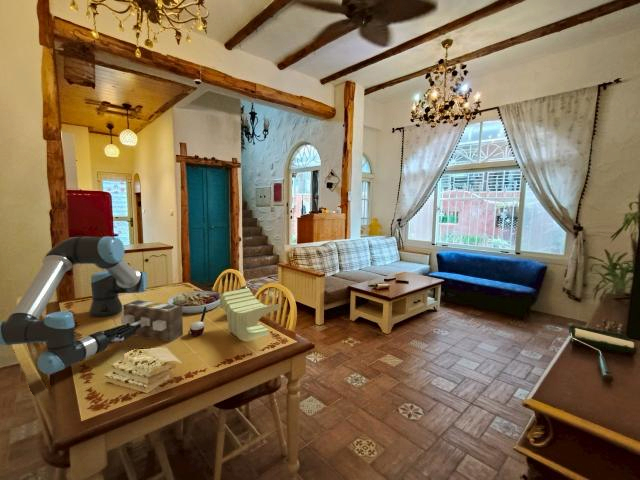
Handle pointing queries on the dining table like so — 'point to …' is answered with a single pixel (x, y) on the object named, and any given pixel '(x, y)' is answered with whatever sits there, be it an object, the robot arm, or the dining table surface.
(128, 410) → the dining table surface
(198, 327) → the cocoa
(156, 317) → the button panel
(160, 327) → the button
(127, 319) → the button
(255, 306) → the slatted curved stool
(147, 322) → the middle button
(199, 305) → the bowl
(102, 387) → the dining table surface
